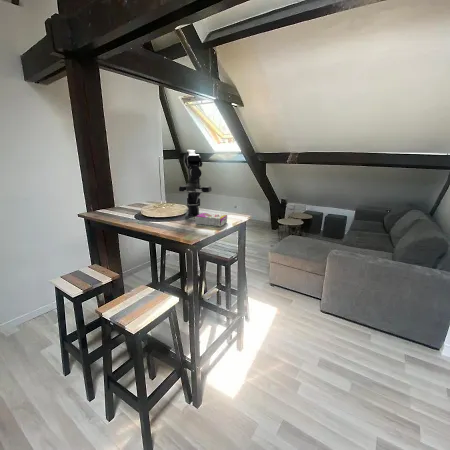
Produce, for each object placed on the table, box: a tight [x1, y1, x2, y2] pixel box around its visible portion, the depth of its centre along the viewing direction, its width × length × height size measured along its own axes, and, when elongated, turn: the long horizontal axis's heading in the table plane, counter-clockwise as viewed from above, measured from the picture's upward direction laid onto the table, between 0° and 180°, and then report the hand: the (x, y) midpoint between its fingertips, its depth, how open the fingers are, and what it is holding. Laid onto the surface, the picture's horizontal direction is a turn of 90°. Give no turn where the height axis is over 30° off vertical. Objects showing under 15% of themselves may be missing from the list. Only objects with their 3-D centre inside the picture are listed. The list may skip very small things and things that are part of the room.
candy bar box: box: [194, 212, 228, 228], centre depth 144 cm, size 11×5×16 cm
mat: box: [196, 224, 218, 228], centre depth 146 cm, size 12×13×1 cm
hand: (195, 203), depth 144 cm, fingers closed
